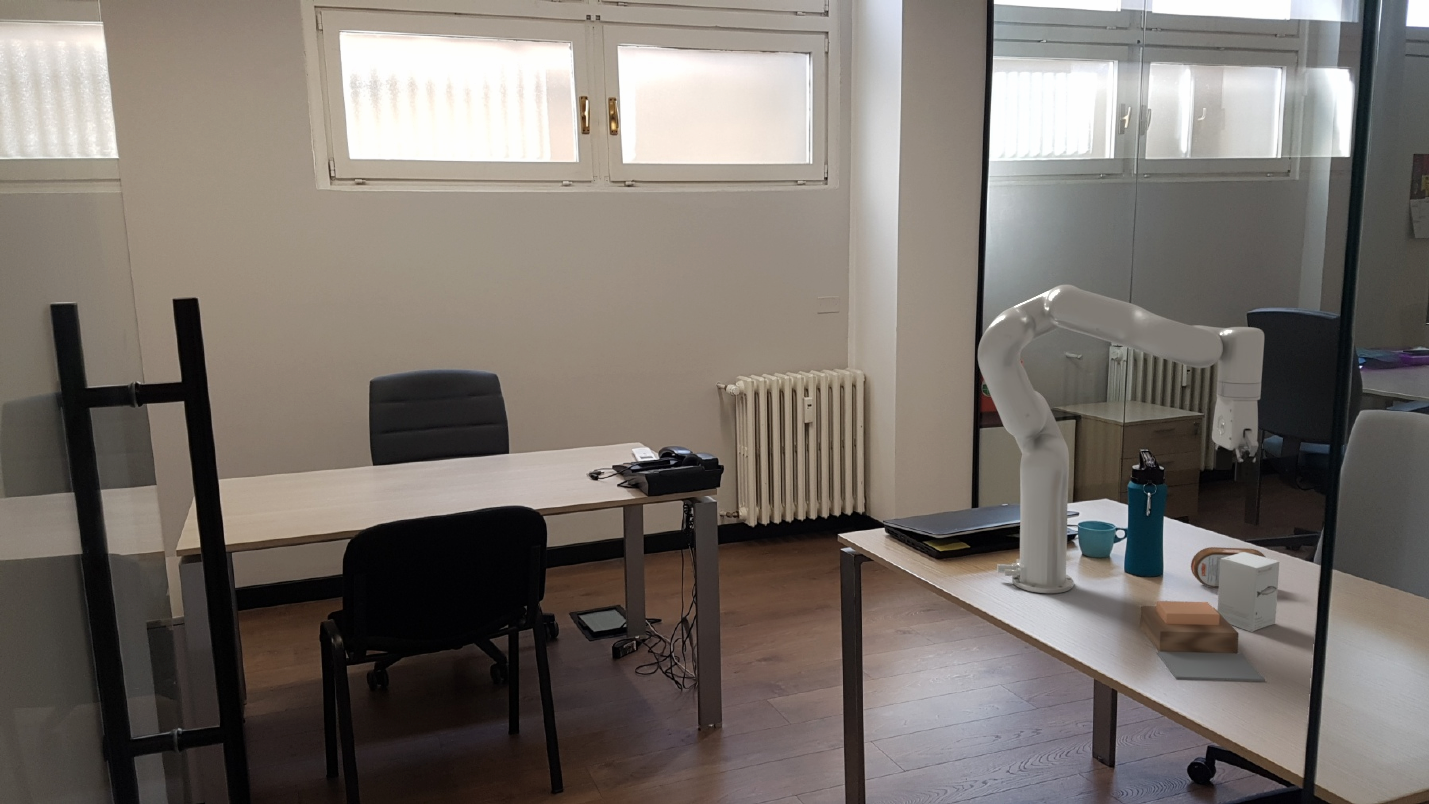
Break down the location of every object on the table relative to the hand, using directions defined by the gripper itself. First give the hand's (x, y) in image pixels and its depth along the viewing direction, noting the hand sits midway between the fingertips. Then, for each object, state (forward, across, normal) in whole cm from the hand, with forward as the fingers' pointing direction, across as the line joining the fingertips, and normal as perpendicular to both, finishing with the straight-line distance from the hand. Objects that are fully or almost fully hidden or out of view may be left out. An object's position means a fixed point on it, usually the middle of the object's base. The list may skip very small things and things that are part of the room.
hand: (1233, 475), depth 187 cm
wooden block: (+26, +20, -14) cm, 36 cm away
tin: (+26, -7, +4) cm, 28 cm away
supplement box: (+26, +12, -1) cm, 29 cm away
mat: (+26, +32, -15) cm, 44 cm away
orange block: (+22, +20, -14) cm, 33 cm away
